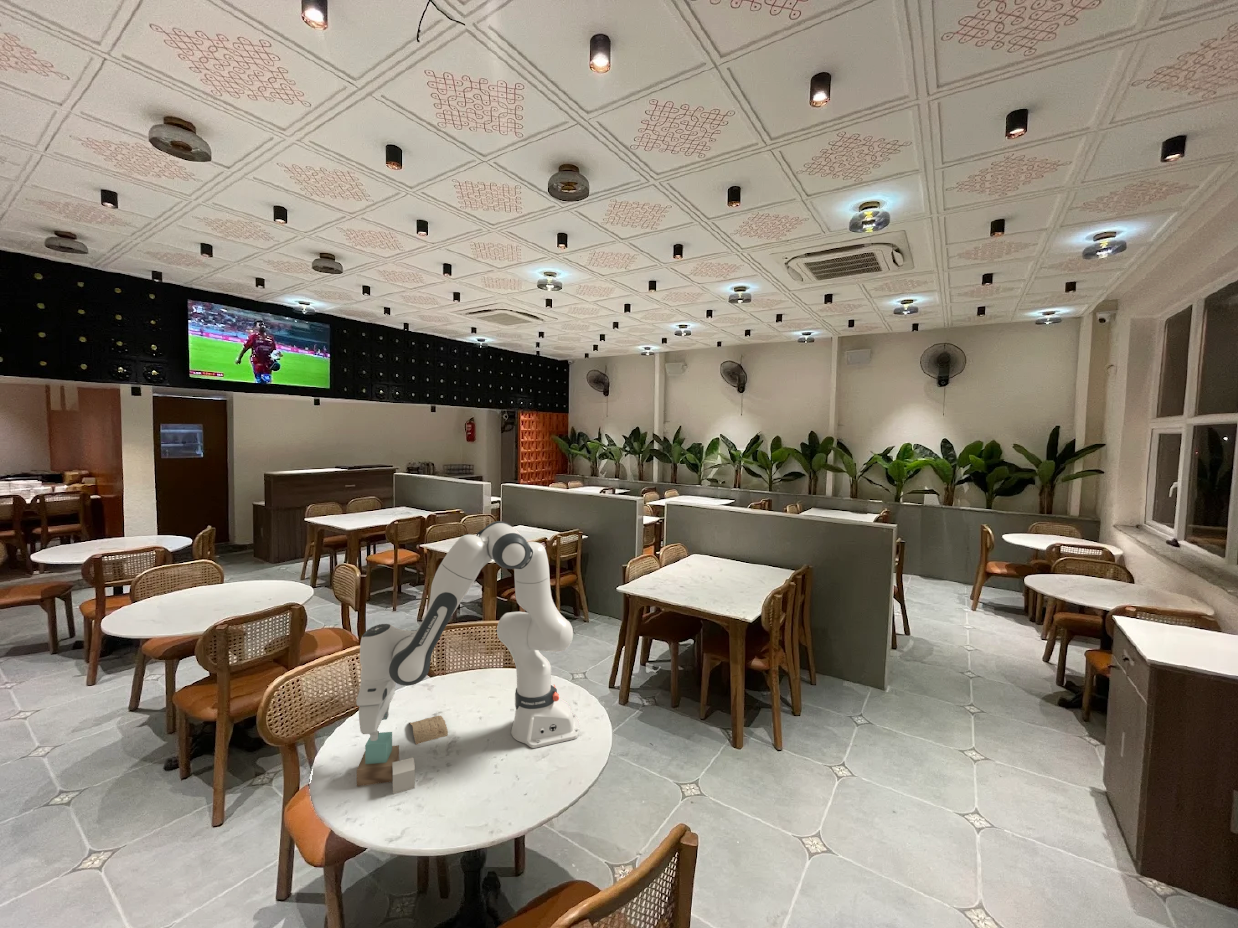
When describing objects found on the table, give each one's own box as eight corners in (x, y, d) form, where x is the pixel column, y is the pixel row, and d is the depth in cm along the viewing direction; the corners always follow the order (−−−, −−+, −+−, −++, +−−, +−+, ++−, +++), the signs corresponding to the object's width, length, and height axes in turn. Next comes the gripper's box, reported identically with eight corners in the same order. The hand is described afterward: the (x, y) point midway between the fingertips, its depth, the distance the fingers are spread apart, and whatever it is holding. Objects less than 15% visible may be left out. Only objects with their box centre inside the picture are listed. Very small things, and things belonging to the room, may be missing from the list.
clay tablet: (407, 724, 163) (407, 716, 163) (438, 715, 168) (438, 707, 168) (416, 748, 151) (416, 740, 151) (449, 737, 156) (449, 729, 156)
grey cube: (413, 775, 138) (413, 757, 138) (414, 788, 134) (414, 769, 133) (392, 781, 136) (392, 762, 136) (392, 794, 131) (392, 775, 131)
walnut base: (399, 761, 144) (398, 745, 144) (392, 782, 136) (392, 765, 135) (365, 765, 142) (365, 748, 142) (356, 787, 134) (356, 769, 133)
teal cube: (392, 749, 142) (392, 731, 142) (386, 762, 137) (386, 743, 136) (372, 751, 141) (372, 733, 141) (365, 764, 136) (365, 745, 135)
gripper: (377, 664, 147) (379, 707, 149) (353, 703, 127) (355, 753, 129) (399, 663, 149) (401, 706, 150) (379, 701, 129) (381, 750, 130)
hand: (379, 728), depth 139 cm, fingers open, 8 cm apart
